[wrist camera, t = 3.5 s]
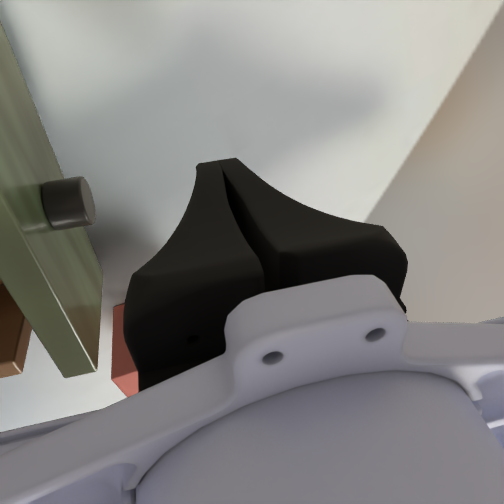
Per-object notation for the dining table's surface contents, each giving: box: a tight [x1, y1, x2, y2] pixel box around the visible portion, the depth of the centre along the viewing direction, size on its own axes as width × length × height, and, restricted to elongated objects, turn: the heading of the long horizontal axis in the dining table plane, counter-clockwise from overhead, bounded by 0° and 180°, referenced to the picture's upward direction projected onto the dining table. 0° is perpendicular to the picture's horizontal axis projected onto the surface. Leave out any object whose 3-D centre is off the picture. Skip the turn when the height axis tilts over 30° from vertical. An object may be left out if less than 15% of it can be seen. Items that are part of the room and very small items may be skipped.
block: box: [111, 304, 138, 397], centre depth 22 cm, size 4×4×4 cm
